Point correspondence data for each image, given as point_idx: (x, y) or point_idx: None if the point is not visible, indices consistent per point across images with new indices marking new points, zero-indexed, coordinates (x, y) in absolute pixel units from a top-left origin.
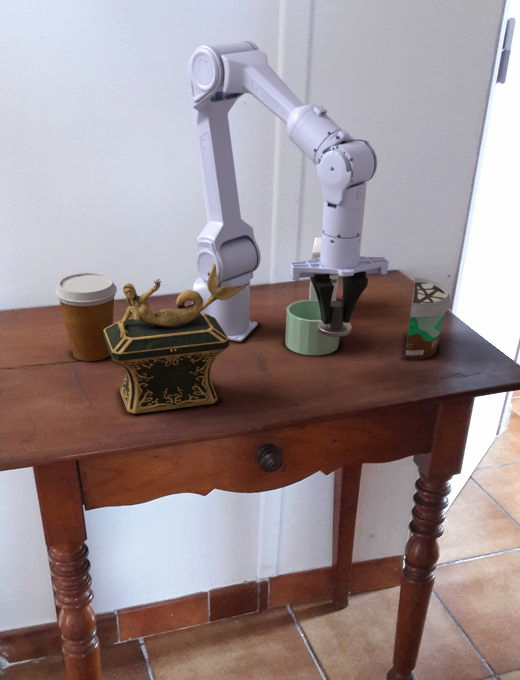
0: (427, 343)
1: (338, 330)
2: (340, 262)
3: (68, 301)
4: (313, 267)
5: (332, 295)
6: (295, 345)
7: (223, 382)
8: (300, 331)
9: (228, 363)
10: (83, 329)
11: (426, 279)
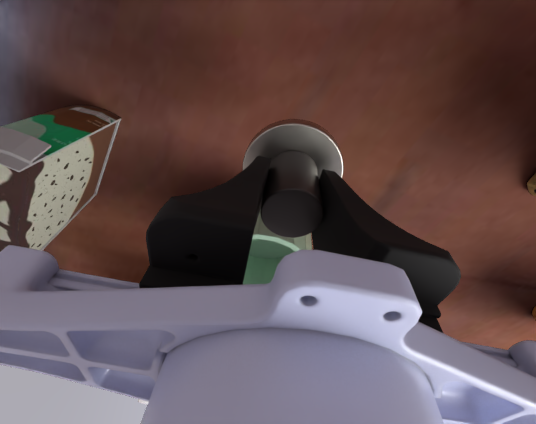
0: (51, 113)
1: (301, 139)
2: (393, 420)
3: None
4: (527, 406)
5: None
6: None
7: (500, 169)
8: (305, 236)
9: (431, 222)
10: None
11: None
